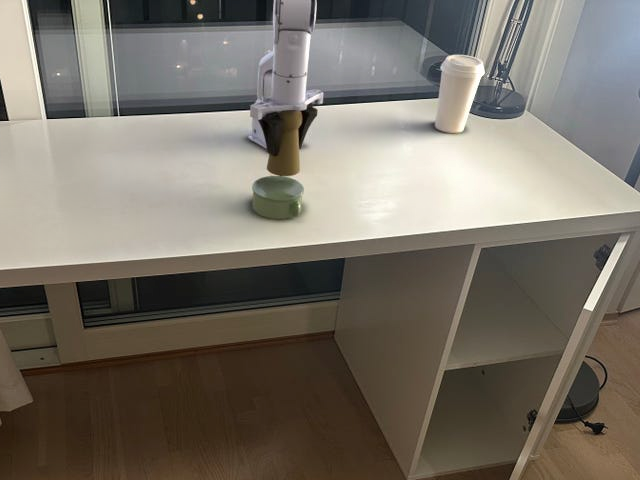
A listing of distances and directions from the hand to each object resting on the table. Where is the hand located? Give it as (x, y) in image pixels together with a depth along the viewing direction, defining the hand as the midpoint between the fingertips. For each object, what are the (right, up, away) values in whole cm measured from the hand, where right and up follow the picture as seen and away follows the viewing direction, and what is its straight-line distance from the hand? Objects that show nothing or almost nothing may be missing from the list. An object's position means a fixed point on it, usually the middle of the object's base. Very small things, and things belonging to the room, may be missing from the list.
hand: (284, 150), depth 124 cm
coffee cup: (+40, +17, +39) cm, 58 cm away
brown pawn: (0, -3, +2) cm, 4 cm away
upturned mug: (-1, -9, +6) cm, 11 cm away
